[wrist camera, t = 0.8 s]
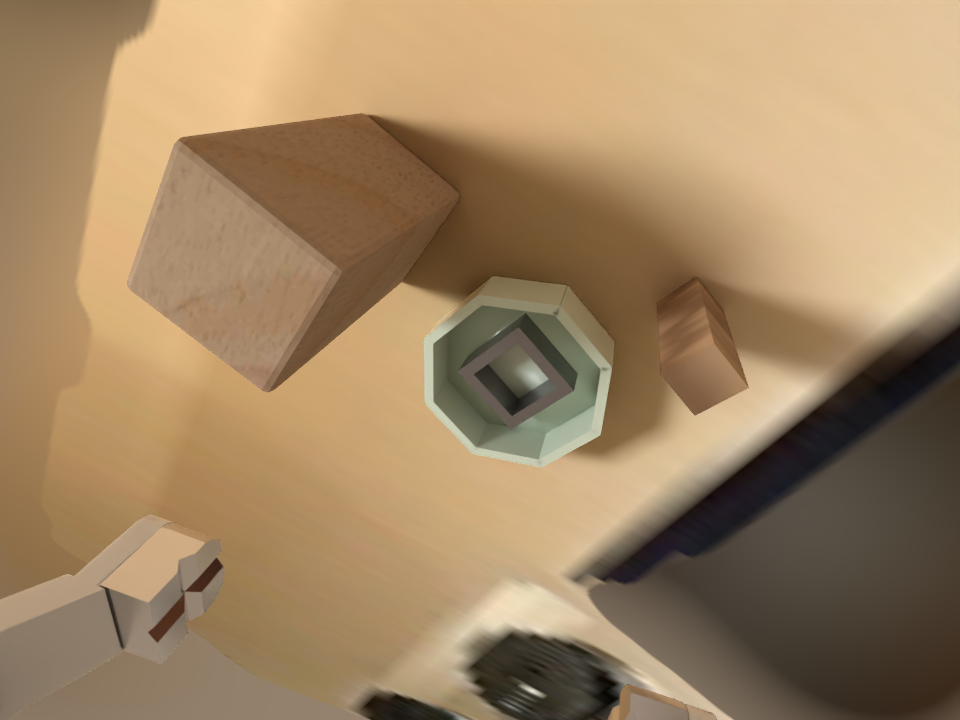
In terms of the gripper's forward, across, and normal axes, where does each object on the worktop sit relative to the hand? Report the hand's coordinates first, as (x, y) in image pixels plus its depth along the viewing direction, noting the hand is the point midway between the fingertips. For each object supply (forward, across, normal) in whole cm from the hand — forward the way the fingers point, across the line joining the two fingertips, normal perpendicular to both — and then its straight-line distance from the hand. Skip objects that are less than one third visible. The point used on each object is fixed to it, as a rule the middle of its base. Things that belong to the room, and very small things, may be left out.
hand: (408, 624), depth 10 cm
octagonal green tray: (+36, +2, +14) cm, 39 cm away
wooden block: (+36, +16, +3) cm, 40 cm away
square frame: (+36, +2, +14) cm, 39 cm away
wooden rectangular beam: (+36, -10, +5) cm, 38 cm away
